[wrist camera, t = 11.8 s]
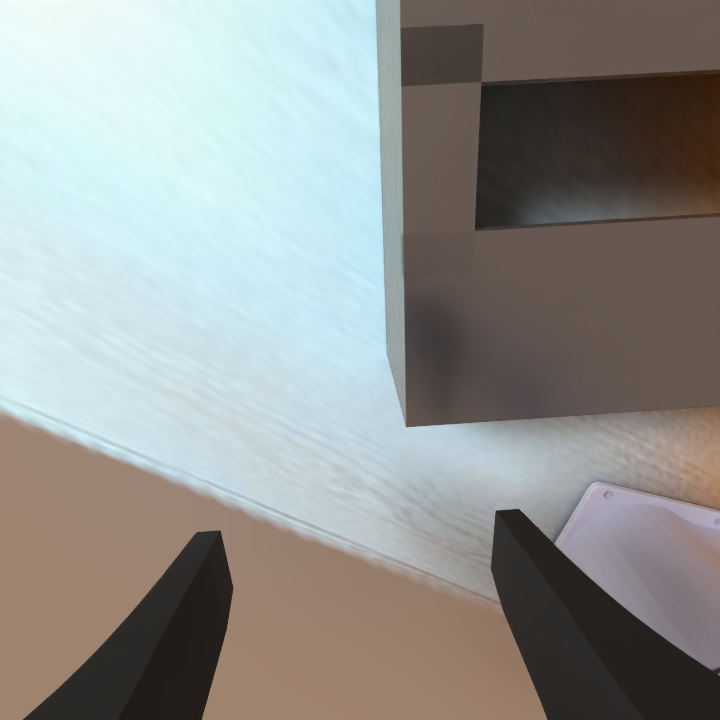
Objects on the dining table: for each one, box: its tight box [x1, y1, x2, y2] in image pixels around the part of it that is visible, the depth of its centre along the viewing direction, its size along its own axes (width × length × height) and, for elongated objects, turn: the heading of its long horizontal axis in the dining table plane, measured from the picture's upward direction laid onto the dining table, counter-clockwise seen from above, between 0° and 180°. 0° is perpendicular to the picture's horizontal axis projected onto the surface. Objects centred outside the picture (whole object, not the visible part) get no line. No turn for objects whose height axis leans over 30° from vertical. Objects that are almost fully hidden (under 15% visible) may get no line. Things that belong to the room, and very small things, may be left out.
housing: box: [376, 0, 720, 427], centre depth 15 cm, size 16×16×6 cm
